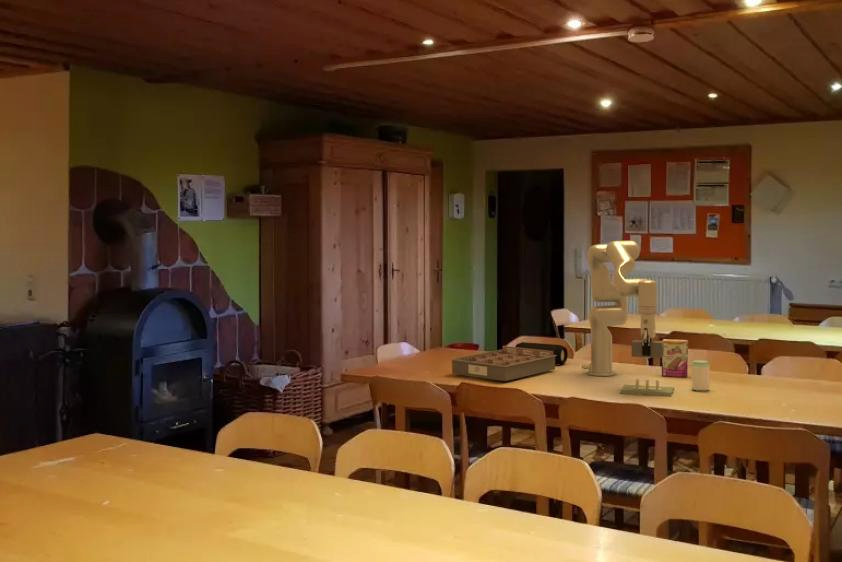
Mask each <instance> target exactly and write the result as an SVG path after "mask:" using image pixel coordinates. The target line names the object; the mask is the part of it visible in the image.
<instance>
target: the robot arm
mask: <svg viewBox="0 0 842 562" xmlns="http://www.w3.org/2000/svg"><path fill="white" fill-rule="evenodd" d="M639 257H640V246H639V244H638V243H637V242H636V241H634V240H613V241H611V242H608V243H599V244H593V245H591V246H590V247H589V248H588V250H587V262H588V263H587V264H588V267H589V269H590V288H591V291H590V292H591V298H592V301H593V302H595V303H613V304H610V305H609V304H604V305H603V304H601V305H596V306H593V307H591V308H590V309H589V310H588V311H589V312H588V320H589V321H588V322H589V326H590V346H591V347H590V363H589V364H581V369H583V370H587V374H588V375H589V376H593V377H611V376H615V375H616V371H615V370H613V335H612V332H611V331H610V329H609V328H608V327H616V326H624V325H625V324H626V323H627V320H628V298H635V297H637V315H640V338H641V340H643V344H642V345H643V346H642V355H643V356H650V341H653V339H654V338H655V337H656V317H655V316H656V315H658V291H657V290H658V283H657V281H655V280H654V279H653V280H652V279H649V278H625V276H627V275H629V274H631V273H632V272H633V271H634V269H635V267H636V261H635V260H636V259H638V258H639ZM605 263H608V264H609V263H611V264H612V266H613V268H614V270H613V275H612V281H611V271H610V269H609V267H608V266H607V265H606V264H605Z"/></svg>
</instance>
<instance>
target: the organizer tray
mask: <svg viewBox="0 0 842 562" xmlns="http://www.w3.org/2000/svg"><path fill="white" fill-rule="evenodd" d="M555 356H557V355H553V351H546V350H537V349H527V348H518V347H515V346H507V345H502V349H498V350H492V351H487V352H482V353H477V354H472V355H471V354H470V355H465V356H460V357H456V358H450V359H449V360H450V361H451V372H452V373H451V374H453V375H459V376H460V375H461V376H467V377H473V378H482V379H486V380H487V379H489V380H493V381H502V382H507V381H511V380H515V379H520V378H525V377H527V376H531V375H537V374H541V373H544V372H549V371H550V372H551V371H554V370H556V365H555Z"/></svg>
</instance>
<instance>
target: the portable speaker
mask: <svg viewBox="0 0 842 562" xmlns="http://www.w3.org/2000/svg"><path fill="white" fill-rule="evenodd" d="M514 347H518V348H527V349H537V350H546V351H553V355H557V356H555V364H561V365H564V364H566V363H567V360H568V356H569V355H568V354H569V353H568V349H567V347H565V346H564V345H562V344H554V343H540V342H539V343H538V342H529V341H528V342H525V341H522V342H519V343H516V344H515V346H514Z"/></svg>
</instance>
